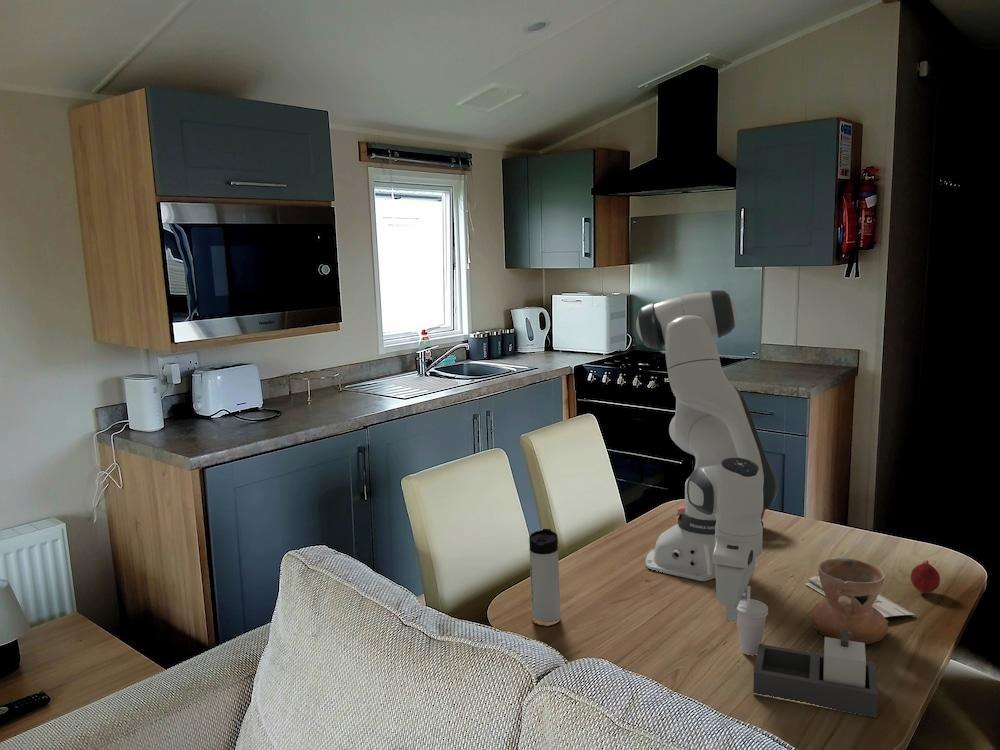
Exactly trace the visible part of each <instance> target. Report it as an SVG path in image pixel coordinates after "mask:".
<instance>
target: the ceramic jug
mask: <svg viewBox="0 0 1000 750" xmlns="http://www.w3.org/2000/svg"><path fill="white" fill-rule="evenodd" d="M817 569H818V576H819V577H820V581H821V585H822V588H823V589H822V590H823V591H824V593H825V595H826V596H825V595H824V596H825V598H826V599H823V600H821V601H819V602H817V603H815V605H814V606H813V607H812V609H811V611H810V616H809V617H810V621H811V623H812V625H813V626H814V628H815V629H816V630H817V632H818V633H820V634H821V635H823V636H824V637H829V638H835V639H841V629H842V630H848V641H855V642H861V643H865V645H871V644H875V643H877V642H879V641H881V640H882V639H884V637H885V636H886V635H887V633H888V630H889V624H888V622H887V621H886V617H884V616H883V615H882V614H881V613H880V612H879V611H878V610H876V609H875V608H874V607H872V605H873V603H874V602H875V600H876V598H877V596H878V594H880V592H881V589H882V588H883V585H884V582H885V573H884V572H883V570H881V569H880V568H879V567H877V566H875V565H874V564H872V563H870V562H868V561H862V560H860V559H856V558H847V557H846V558H845V557H844V558H842V557H834V558H828V559H825V560H822V561H821V562H820V563H818V568H817Z"/></svg>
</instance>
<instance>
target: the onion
mask: <svg viewBox="0 0 1000 750" xmlns="http://www.w3.org/2000/svg"><path fill="white" fill-rule="evenodd" d="M910 581H911V584H912V585H913V586H914V588H915V589H916V590H917V591H919V592H920V593H921V594H924V595H927V594H929V593H932V592H934V591H936V589H938V588H939V586H940V583H941V582H940V581H941V577H940V574H939V572H938V570H937V569H936V568H935V567H934V566H932V564H930V563H929V560H927V559H923V561H922V563H919V564H917V565H916V566H914V568H913V569H912V571H911V573H910Z"/></svg>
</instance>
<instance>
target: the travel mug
mask: <svg viewBox="0 0 1000 750" xmlns="http://www.w3.org/2000/svg"><path fill="white" fill-rule="evenodd" d="M528 539H529V540H528V543H529V567H530V568H529V569H530V574H529V575H530V596H531V616H532V617H533V618H534V619H536V620H538V621H542V622H553V621H557V620H558V619H559V618H560V619H561V599H560V597H561V595H560V592H561V591H560V570H559V569H560V566H559V565H560V563H559V546H558V544H559V543H558V542H559V541H558V539H559V538H558V534H557V533H556V532H555V531H553V530H552V529H551V528H543V529H541V530H537V531H534V532H532V533H531V534H530V535H529V537H528ZM532 617H531V618H532Z"/></svg>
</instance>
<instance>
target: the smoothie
mask: <svg viewBox="0 0 1000 750" xmlns="http://www.w3.org/2000/svg"><path fill="white" fill-rule="evenodd" d="M737 610H738V614H737V615H738V616H737V619H736V621H737V629H738V637H739V638H738V640H739V647H740V652H741V651H742V652H743V653H745V654H749V655H756V654H757V652H758V646H759V644H763V637H764V633H765V632H764V631H765V625H766V619H767V616H768V615H769V607H768V605H767V604H766V603H765V602H762V601H760V600H757V599H754V598H752V599H751V585H749V584H748V586H747V596H746V599H742V600H740V602H739V604H738V607H737ZM742 652H741V653H742ZM743 653H742V654H743ZM745 654H744V655H745Z"/></svg>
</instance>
